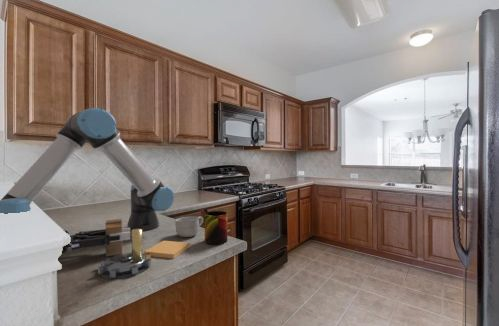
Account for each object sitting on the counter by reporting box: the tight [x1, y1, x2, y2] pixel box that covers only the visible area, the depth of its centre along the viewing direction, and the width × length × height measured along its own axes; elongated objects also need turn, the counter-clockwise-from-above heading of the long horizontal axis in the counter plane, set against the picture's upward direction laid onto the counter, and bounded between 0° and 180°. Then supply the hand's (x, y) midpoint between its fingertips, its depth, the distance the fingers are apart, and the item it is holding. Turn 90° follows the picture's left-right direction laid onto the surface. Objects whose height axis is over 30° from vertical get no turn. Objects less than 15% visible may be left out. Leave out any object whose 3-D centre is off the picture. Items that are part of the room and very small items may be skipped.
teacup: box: [174, 215, 204, 238], centre depth 110 cm, size 14×11×8 cm
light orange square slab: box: [143, 240, 191, 259], centre depth 90 cm, size 12×12×2 cm
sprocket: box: [97, 228, 152, 277], centre depth 75 cm, size 15×15×12 cm
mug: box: [204, 210, 228, 246], centre depth 103 cm, size 10×14×12 cm
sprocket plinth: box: [99, 265, 151, 280], centre depth 75 cm, size 14×14×1 cm
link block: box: [104, 218, 123, 257], centre depth 87 cm, size 5×5×12 cm
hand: (130, 233), depth 90 cm, fingers closed on link block, 5 cm apart
